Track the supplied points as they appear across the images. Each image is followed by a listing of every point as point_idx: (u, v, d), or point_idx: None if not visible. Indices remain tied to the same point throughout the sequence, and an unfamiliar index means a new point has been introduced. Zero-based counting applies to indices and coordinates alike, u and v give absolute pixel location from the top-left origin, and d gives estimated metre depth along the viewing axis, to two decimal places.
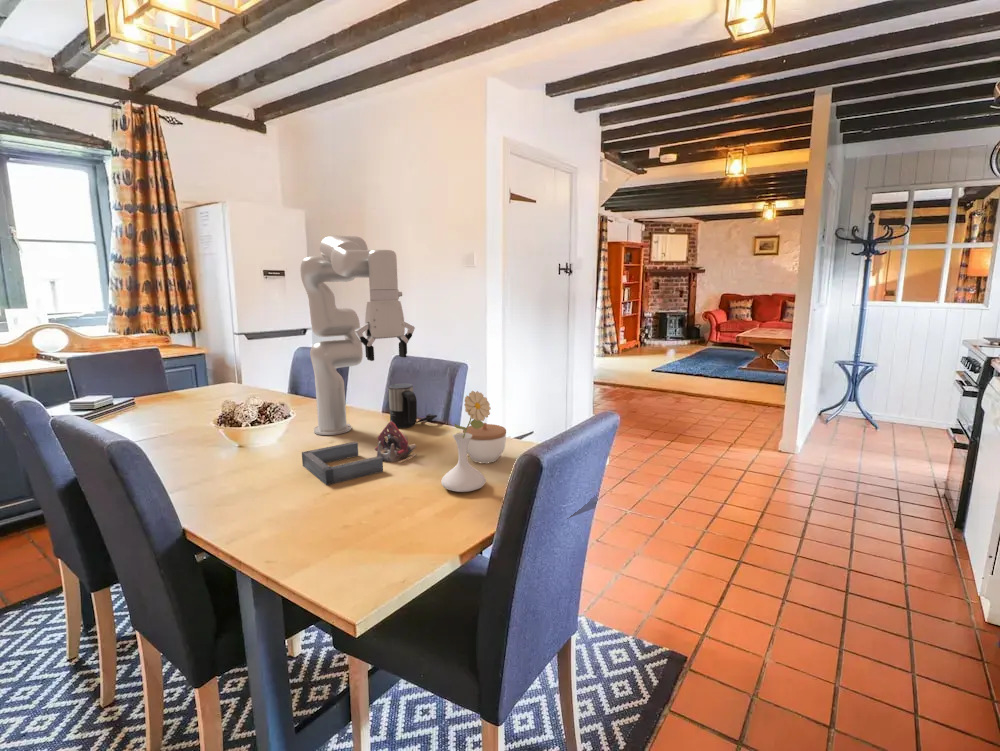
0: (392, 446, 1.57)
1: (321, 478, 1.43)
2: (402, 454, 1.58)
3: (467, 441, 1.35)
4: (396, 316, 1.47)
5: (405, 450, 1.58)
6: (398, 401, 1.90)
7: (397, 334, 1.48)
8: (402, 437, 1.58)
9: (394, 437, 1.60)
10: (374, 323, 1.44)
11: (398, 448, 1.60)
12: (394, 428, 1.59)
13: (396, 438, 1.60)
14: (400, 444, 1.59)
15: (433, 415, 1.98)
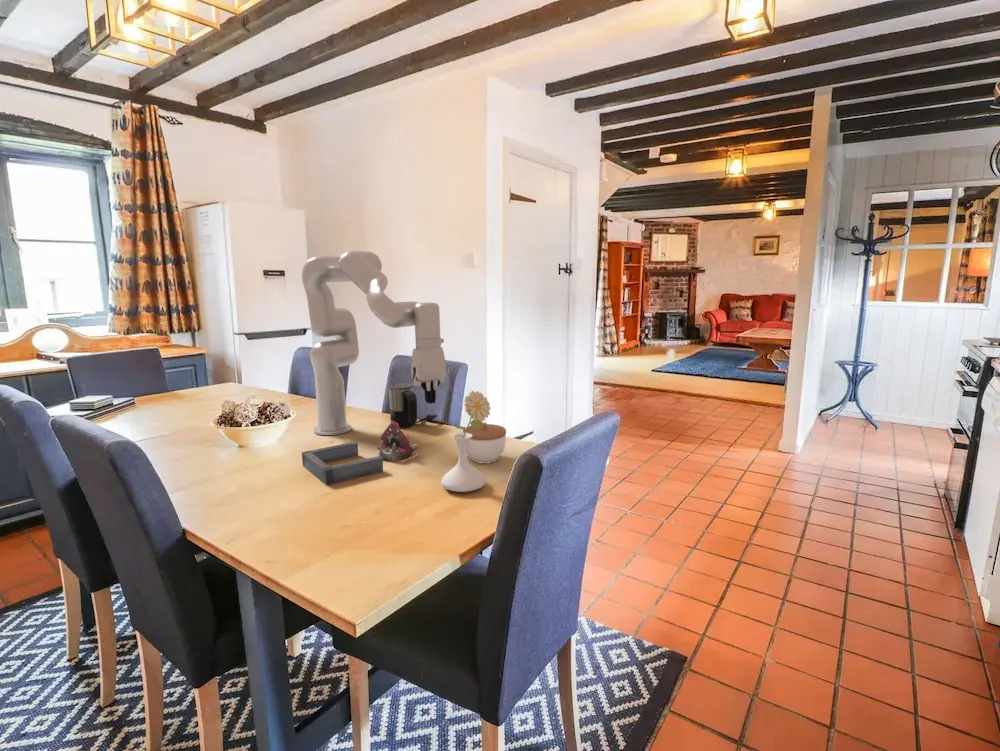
0: (394, 446, 1.57)
1: (321, 478, 1.43)
2: (404, 454, 1.59)
3: (467, 441, 1.35)
4: (439, 361, 1.64)
5: (407, 450, 1.59)
6: (398, 401, 1.90)
7: (439, 377, 1.65)
8: (404, 437, 1.58)
9: (396, 437, 1.60)
10: (420, 368, 1.61)
11: (400, 448, 1.60)
12: (396, 428, 1.59)
13: (398, 438, 1.60)
14: (402, 444, 1.59)
15: (433, 415, 1.98)
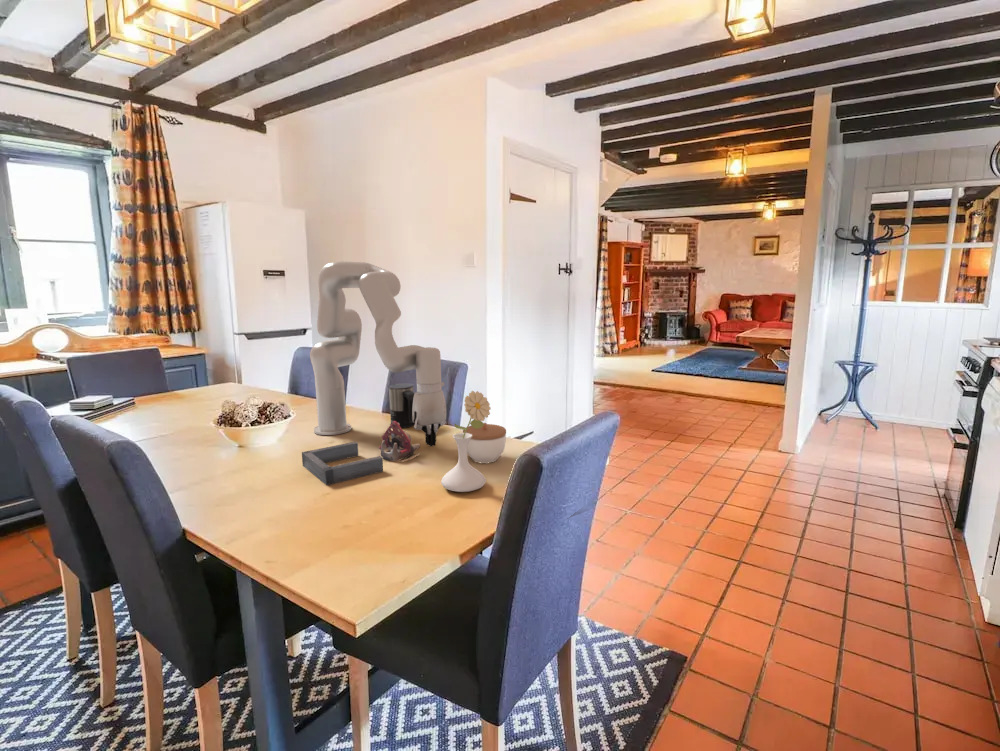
0: (395, 445, 1.57)
1: (321, 478, 1.43)
2: (405, 453, 1.59)
3: (467, 441, 1.35)
4: (439, 405, 1.66)
5: (408, 450, 1.59)
6: (398, 401, 1.90)
7: (440, 420, 1.68)
8: (405, 437, 1.58)
9: (397, 436, 1.60)
10: (421, 413, 1.63)
11: (401, 447, 1.60)
12: (397, 427, 1.59)
13: (399, 437, 1.60)
14: (403, 443, 1.59)
15: None
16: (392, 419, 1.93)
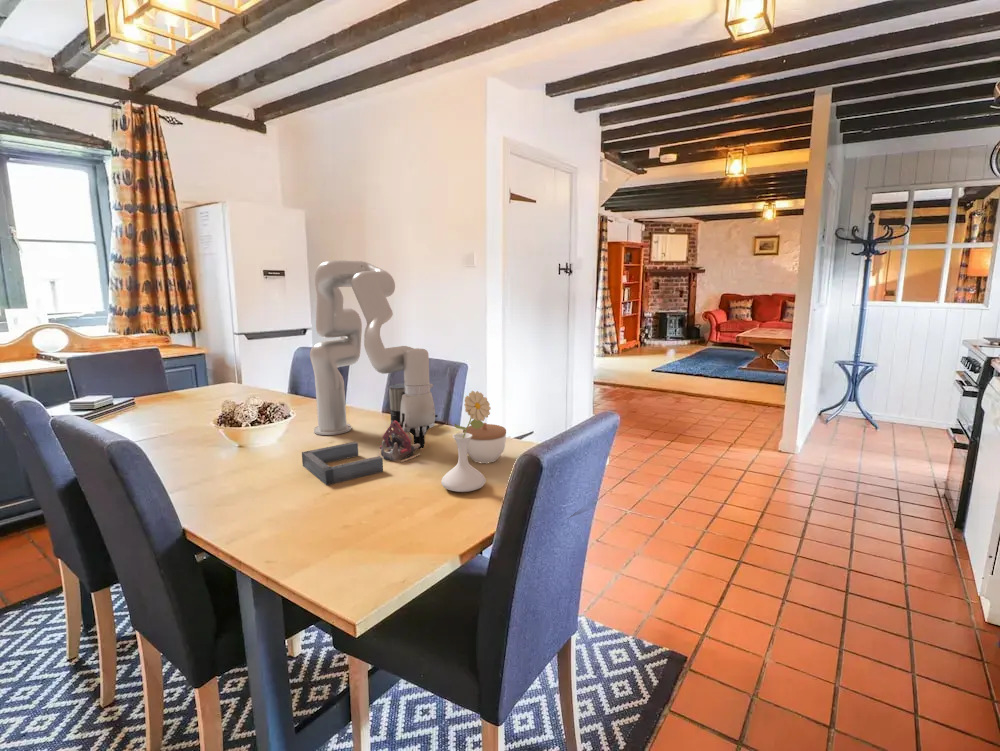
0: (395, 445, 1.57)
1: (321, 478, 1.43)
2: (405, 453, 1.59)
3: (467, 441, 1.35)
4: (428, 407, 1.64)
5: (408, 449, 1.59)
6: (398, 401, 1.90)
7: (428, 422, 1.65)
8: (405, 436, 1.58)
9: (398, 436, 1.60)
10: (409, 415, 1.61)
11: (402, 447, 1.60)
12: (398, 427, 1.59)
13: (400, 437, 1.60)
14: (403, 443, 1.59)
15: None
16: (392, 419, 1.93)
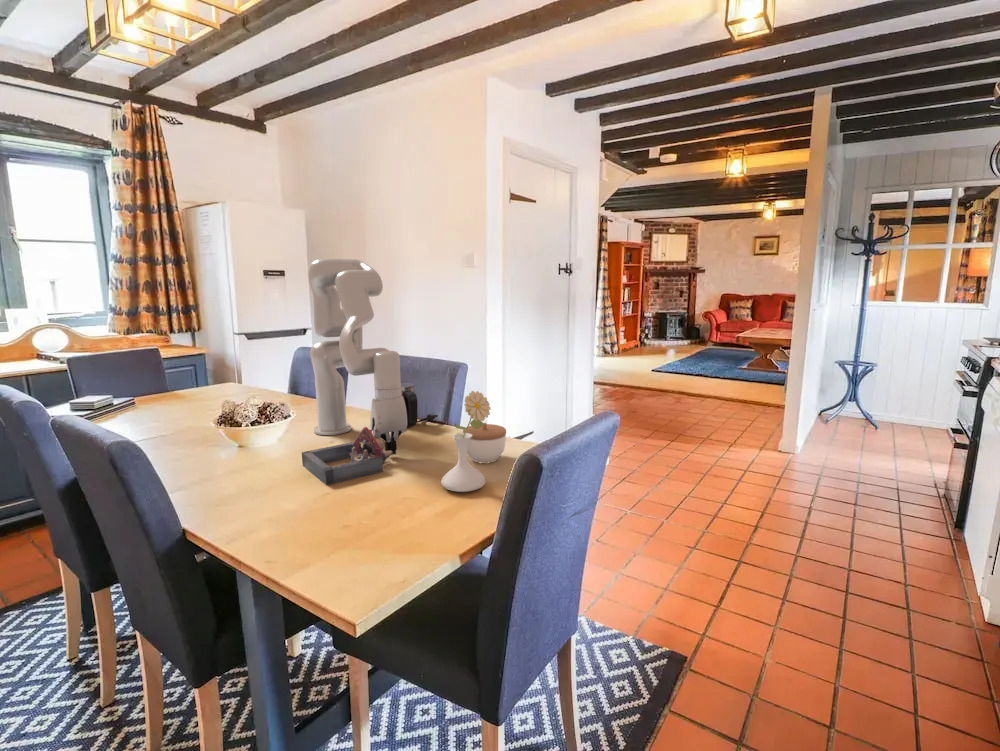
0: (365, 452, 1.51)
1: (321, 478, 1.43)
2: None
3: (467, 441, 1.35)
4: (399, 411, 1.58)
5: None
6: None
7: (400, 427, 1.59)
8: (376, 443, 1.52)
9: (369, 443, 1.54)
10: (379, 420, 1.55)
11: (372, 454, 1.54)
12: (368, 434, 1.53)
13: (371, 444, 1.54)
14: (374, 450, 1.53)
15: (434, 415, 1.98)
16: None
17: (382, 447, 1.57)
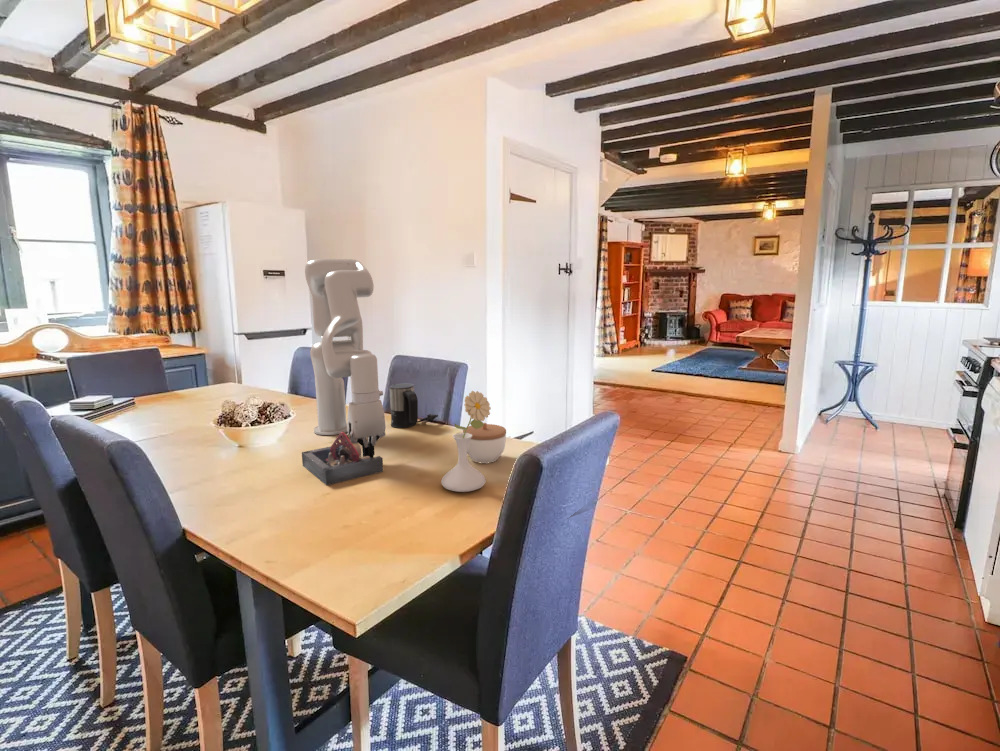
0: (342, 458, 1.46)
1: (321, 478, 1.43)
2: None
3: (467, 441, 1.35)
4: (377, 416, 1.54)
5: None
6: (399, 401, 1.91)
7: (378, 432, 1.55)
8: (353, 449, 1.48)
9: (346, 448, 1.50)
10: (355, 425, 1.51)
11: (350, 460, 1.50)
12: (345, 439, 1.49)
13: (348, 449, 1.50)
14: (351, 456, 1.48)
15: (434, 415, 1.98)
16: (393, 419, 1.93)
17: (360, 452, 1.52)
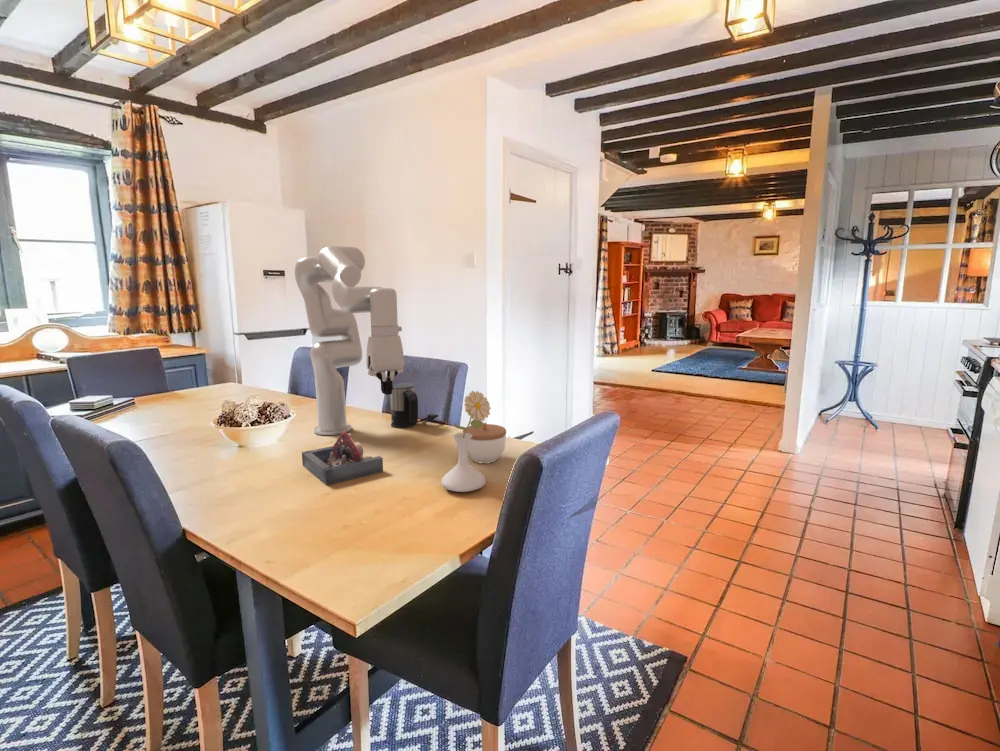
0: (343, 458, 1.47)
1: (321, 478, 1.43)
2: None
3: (467, 441, 1.35)
4: (396, 350, 1.56)
5: None
6: (399, 401, 1.91)
7: (396, 367, 1.57)
8: (355, 448, 1.48)
9: (347, 448, 1.50)
10: (375, 358, 1.52)
11: (351, 460, 1.50)
12: (347, 438, 1.49)
13: (349, 449, 1.50)
14: (353, 456, 1.49)
15: (434, 415, 1.98)
16: (393, 419, 1.93)
17: (361, 452, 1.53)
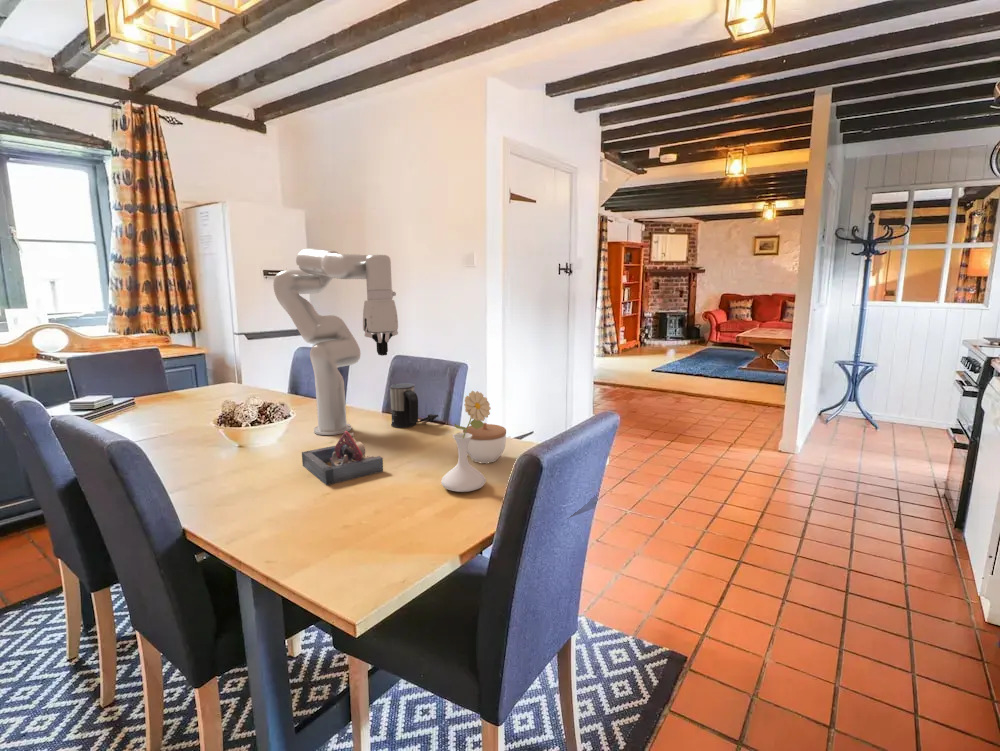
0: (345, 457, 1.47)
1: (321, 478, 1.43)
2: None
3: (467, 441, 1.35)
4: (390, 313, 1.66)
5: None
6: (399, 401, 1.91)
7: (391, 329, 1.67)
8: (356, 448, 1.48)
9: (349, 448, 1.50)
10: (370, 319, 1.63)
11: (353, 459, 1.50)
12: (349, 438, 1.49)
13: (351, 449, 1.50)
14: (354, 455, 1.49)
15: (434, 415, 1.98)
16: (393, 419, 1.93)
17: (364, 452, 1.53)
